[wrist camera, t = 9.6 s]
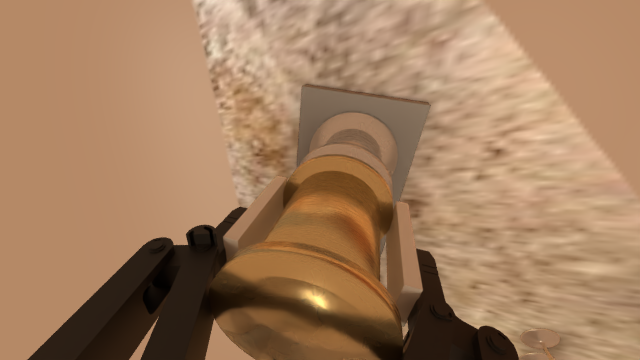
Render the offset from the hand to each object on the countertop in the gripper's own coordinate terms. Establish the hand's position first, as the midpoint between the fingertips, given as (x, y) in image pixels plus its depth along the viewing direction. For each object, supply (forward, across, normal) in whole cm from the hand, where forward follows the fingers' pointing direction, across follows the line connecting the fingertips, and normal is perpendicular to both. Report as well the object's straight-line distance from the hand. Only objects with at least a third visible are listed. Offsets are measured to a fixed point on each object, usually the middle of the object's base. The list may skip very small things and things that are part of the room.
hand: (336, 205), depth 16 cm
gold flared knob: (0, 0, 0) cm, 0 cm away
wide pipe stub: (+10, 0, 0) cm, 10 cm away
